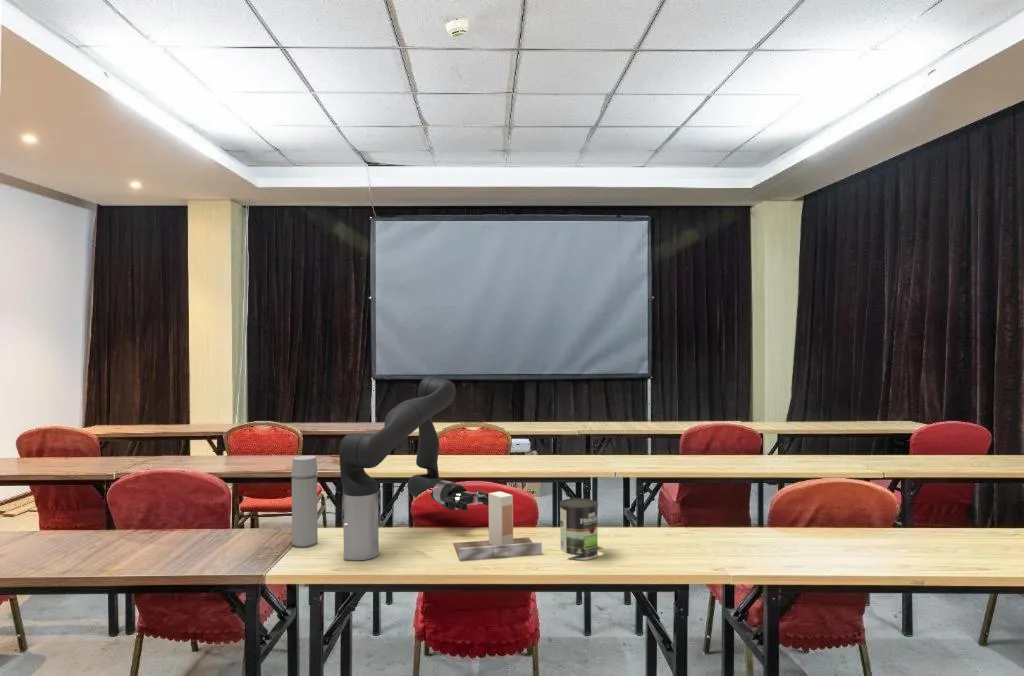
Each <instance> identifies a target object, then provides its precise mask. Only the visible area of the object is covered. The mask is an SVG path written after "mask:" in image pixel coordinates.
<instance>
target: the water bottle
mask: <svg viewBox="0 0 1024 676" xmlns="http://www.w3.org/2000/svg"><path fill="white" fill-rule="evenodd" d="M318 472H319V471H318V462H317V456H316V455H299V456H294V457H293V458H292V466H291V473H290V476H291V532H292V533H291V538H292V539H291V541H292V542H291V544H292V546H295V547H297V548H307V547H310V546H311V547H312V546H314V545H315V544H317V542H318V537H319V536H318V535H319V533H318V524H319V523H318V475H319V473H318Z"/></svg>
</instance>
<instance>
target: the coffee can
mask: <svg viewBox="0 0 1024 676" xmlns="http://www.w3.org/2000/svg"><path fill="white" fill-rule="evenodd" d="M598 506H599V505H598V501H596V500H593V499H589V498H580V497H576V498H575V497H574V498H566V499H563V500H560V501H559V511H560V514H559V515H560V516H559V517H560V518H559V519H560V521H559V524H560V550H561V552H563V553H565V554H569V555H575V556H571V557H568V558H567V559H568V560H572V561H588V560H593V559H596V558H597V557H598V555H599V553H598V549H599V548H598V544H599V543H598Z"/></svg>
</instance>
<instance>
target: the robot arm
mask: <svg viewBox="0 0 1024 676" xmlns="http://www.w3.org/2000/svg"><path fill="white" fill-rule="evenodd" d="M456 390H457V389H456V386H455V384H454V383H453V382H452V381H450V380H448V379H443V378H438V377H433V376H425V377H424V378H422V379H421V381H420V383H419V385H418V391H417V397H415V398H410V399H407V400H404V401H402V402H400V403H398V404H397V405H396V406H395V407H393V408H392V409H390V410H389V411H388V413H387V414H386V416H385V419H384V427H383V428H381V430H379V431H377V432H375V433H358V432H356V433H354V432H352V433H347V434H346V435H344V437H343V438H342V439H341V443H340V446H339V452H338V453H339V456H338V457H339V470H340V482H341V486H342V488H343V526H342V530H343V560H345V561H346V560H350V561H365V560H366V561H367V560H371V559H374V558H376V557H377V556H379V554H380V552H379V551H380V543H379V542H380V541H379V537H380V536H379V533H380V532H379V527H380V526H379V483H378V481H377V479H375V478H373V477H372V476H370V475H369V474H368V473H367V472H366V471H365V469H373V468H376V467H377V466H379V465H380V464H381V463H382V462H383V461H385V459H386V458H387V457H388V455H389V454H390V453H391V452H392V451H393V450H394V449H395V448H396V447H397V446H398V445H400V443H402V442H403V441H404V440H405V439H406V438H407V437H409V436H410V435H411V434H412V433H413V432H415V431H416V430H417V429H418V441H417V443H418V444H417V451H416V459H415V461H416V463H415V464H416V466H417V467H418V468H421V469H424V470H426V473H423V474H420V473H419V474H414V475H412V476H411V477H410V478H409V480H408V481H407V490H408V492H409V493H410V495H412V496H413V497H415V498H418V497H417V496H418V495H419V494H421V493H422V492H424V491H426V490H427V489H429V490H433V489H430V488H434V487H439V488H434V489H436V490H434V491H432V493H431V494H430V495H431V497H432V498H433V500H432V501H434V500H435V502H437V503H439V504H440V506H441V507H442V508H444V509H446V510H449V511H452V510H460V511H462V512H467V511H468V506H469V505H471V506H477V505H479V504H483V505H485V506H488V507H489V492H485V491H480V490H475V492H470V491H467V489H466V488H465V486H463V485H462V484H458V483H456V482H453V481H449V480H445V479H441V478H440V473H439V467H438V466H439V465H438V459H439V452H440V440H439V436H438V433H437V431H436V427H435V425H434V424H433V419H432V417H433V416H434V415H436V414H438V413H439V412H441V411H443V410H445V409H446V408H448V407H449V406H450V404H452V402H453V401H454V399H455V396H456Z"/></svg>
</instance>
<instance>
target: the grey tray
mask: <svg viewBox="0 0 1024 676" xmlns="http://www.w3.org/2000/svg"><path fill="white" fill-rule="evenodd" d="M452 545H453V548H454V551H455V553H456V556H457V558H458V561H460V562H463V561H476V560H489V559H500V558H514V557H526V556H537V555H538V556H540V555H542V554H543V551H542V549H543V546H542V545H543V543H542V541H538V542H537V541H536V542H535V541H534V542H533V541H532V540H531V539H530V537H517V538H516V537H515V538H514V537H513V544H508V545H495V546H494V545H492V544H490V543H489V539H488V540H475V541H464V542H463V541H461V542H453V543H452Z"/></svg>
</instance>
